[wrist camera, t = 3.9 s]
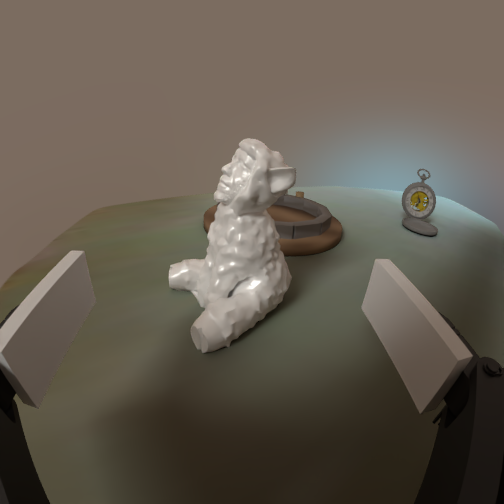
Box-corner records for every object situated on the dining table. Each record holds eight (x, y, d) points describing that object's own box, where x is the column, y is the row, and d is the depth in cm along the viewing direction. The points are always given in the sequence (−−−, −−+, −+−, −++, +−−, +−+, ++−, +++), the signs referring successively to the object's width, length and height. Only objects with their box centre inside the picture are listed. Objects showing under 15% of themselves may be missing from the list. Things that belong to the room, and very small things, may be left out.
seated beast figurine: (165, 282, 23) (158, 136, 18) (255, 266, 27) (264, 136, 22) (199, 360, 16) (192, 143, 11) (315, 324, 20) (347, 150, 14)
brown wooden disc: (252, 200, 49) (253, 181, 47) (354, 225, 40) (358, 204, 39) (174, 228, 35) (173, 203, 33) (310, 273, 26) (315, 242, 25)
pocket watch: (421, 238, 38) (435, 175, 33) (387, 219, 45) (397, 163, 41) (447, 236, 40) (460, 180, 36) (415, 219, 47) (425, 168, 43)
